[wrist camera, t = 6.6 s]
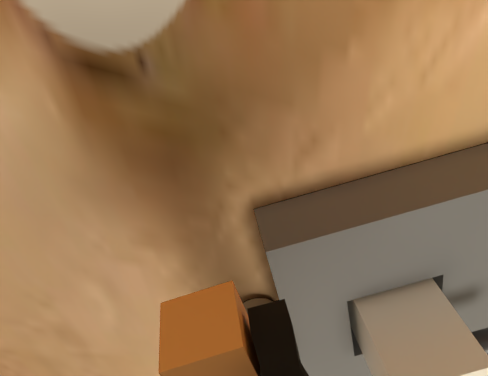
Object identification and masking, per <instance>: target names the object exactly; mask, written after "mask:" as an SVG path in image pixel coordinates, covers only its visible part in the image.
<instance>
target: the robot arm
mask: <svg viewBox="0 0 488 376" xmlns="http://www.w3.org/2000/svg"><path fill="white" fill-rule="evenodd" d="M247 311H248V318H249V325H250V331H251V337H252V340H253V344H254V347H255V351H256V354H257V358H258V361H259V365H260V376H309V375H308V373H307V372H306V370H305V368H304V367H303V365H302V363H301V360H300V356H299V351H298V347H297V343H296V338H295V334H294V330H293V325H292V322H291V318H290V315H289V312H288V308H287V305H286V302H285V299H282V300H278V301H274V302H270V303H266V304H263V305H259V306H255V307H251V308H247Z"/></svg>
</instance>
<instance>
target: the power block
mask: <svg viewBox="0 0 488 376" xmlns="http://www.w3.org/2000/svg"><path fill="white" fill-rule="evenodd" d="M254 212H255V216H256V220H257V223H258V227H259V230H260V234H261V238H262V241H263V245H264V249H265V252H266V256H267V259H268V263H269V266H270V269H271V273H272V276H273V280H274V283H275V287H276V290H277V294H278V297H279V300H282V299H285V302H286V305H287V308H288V312H289V315H290V318H291V322H292V325H293V330H294V334H295V338H296V343H297V347H298V351H299V356H300V360H301V363H302V365H303V367H304V368H305V370H306V372H307V373H308V375H309V376H372V374H371V372H370V370H369V367H368V365H367V363H366V360H365V358H364V356H363V354H362V351H361V349H360V347H359V344H358V342H357V340H356V337H355V335H354V333H353V330H352V328H351V326H350V320H349V313H348V306H347V301H350V300H354V299H357V298H361V297H365V296H368V295H372V294H375V293H379V292H382V291H386V290H390V289H393V288H397V287H400V286H404V285H407V284H411V283H415V282H418V281H422V280H425V279H429V278H433V280H434V281H435V282H436V284H437V285H438V287H439V288H440V289H441V291H442V292H443V294H444V295H445V296H446V298H447V299H448V301H449V302H450V303H451V305H452V306H453V308H454V309H455V310H456V312H457V313H458V315H459V316H460V317H461V319H462V320H463V321H464V323H465V324H466V326H467V327H468V328H469V330H470V331H471V332H473V331H477V330H480V329H484V328H488V143H486V144H482V145H479V146H475V147H472V148H468V149H465V150H461V151H458V152H454V153H451V154H447V155H444V156H440V157H437V158H433V159H430V160H426V161H422V162H419V163H415V164H412V165H408V166H405V167H401V168H398V169H394V170H391V171H387V172H384V173H380V174H377V175H373V176H370V177H366V178H363V179H359V180H355V181H352V182H348V183H345V184H341V185H338V186H334V187H331V188H327V189H324V190H320V191H317V192H313V193H310V194H306V195H303V196H299V197H295V198H292V199H288V200H285V201H281V202H278V203H274V204H271V205H267V206H264V207H260V208H257V209H254Z"/></svg>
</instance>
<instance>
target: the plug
mask: <svg viewBox="0 0 488 376" xmlns="http://www.w3.org/2000/svg"><path fill="white" fill-rule="evenodd" d="M347 306H348V313H349V320H350V326H351V328H352V330H353V333H354V335H355V337H356V340H357V342H358V344H359V347H360V349H361V351H362V354H363V356H364V358H365V360H366V363H367V365H368V367H369V370H370V372H371V374H372V376H488V328H484V329H480V330H477V331H473V332H471V331H470V330H469V328H468V327H467V326H466V324H465V323H464V321H463V320H462V319H461V317H460V316H459V315H458V313H457V312H456V310H455V309H454V308H453V306H452V305H451V303H450V302H449V301H448V299H447V298H446V296H445V295H444V294H443V292H442V291H441V289H440V288H439V287H438V285H437V284H436V282H435V281H434V280H433V278H429V279H425V280H422V281H418V282H415V283H411V284H407V285H404V286H400V287H397V288H393V289H390V290H386V291H382V292H379V293H375V294H372V295H368V296H365V297H361V298H357V299H354V300H350V301H347Z"/></svg>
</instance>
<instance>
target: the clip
mask: <svg viewBox="0 0 488 376" xmlns="http://www.w3.org/2000/svg"><path fill="white" fill-rule="evenodd" d="M270 302H272V301H271V300H268V299H265V298H255V299H251V300H248V301H246V302H244V303H242V301H241V299H240V296H239V294H238V292H237V290H236V288H235V285H234V283H233V281H229V282H226V283H222V284H219V285H216V286H213V287H210V288H207V289H203V290H200V291H197V292H194V293H191V294H188V295H184V296H181V297H178V298H175V299H172V300H169V301H165V302H162V303H161V310H160V344H159V374H160V375H161V376H260V365H259V361H258V358H257V354H256V351H255V347H254V344H253V340H252V337H251V331H250V325H249V318H248V311H247V308H251V307H255V306H259V305H263V304H266V303H270Z"/></svg>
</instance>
